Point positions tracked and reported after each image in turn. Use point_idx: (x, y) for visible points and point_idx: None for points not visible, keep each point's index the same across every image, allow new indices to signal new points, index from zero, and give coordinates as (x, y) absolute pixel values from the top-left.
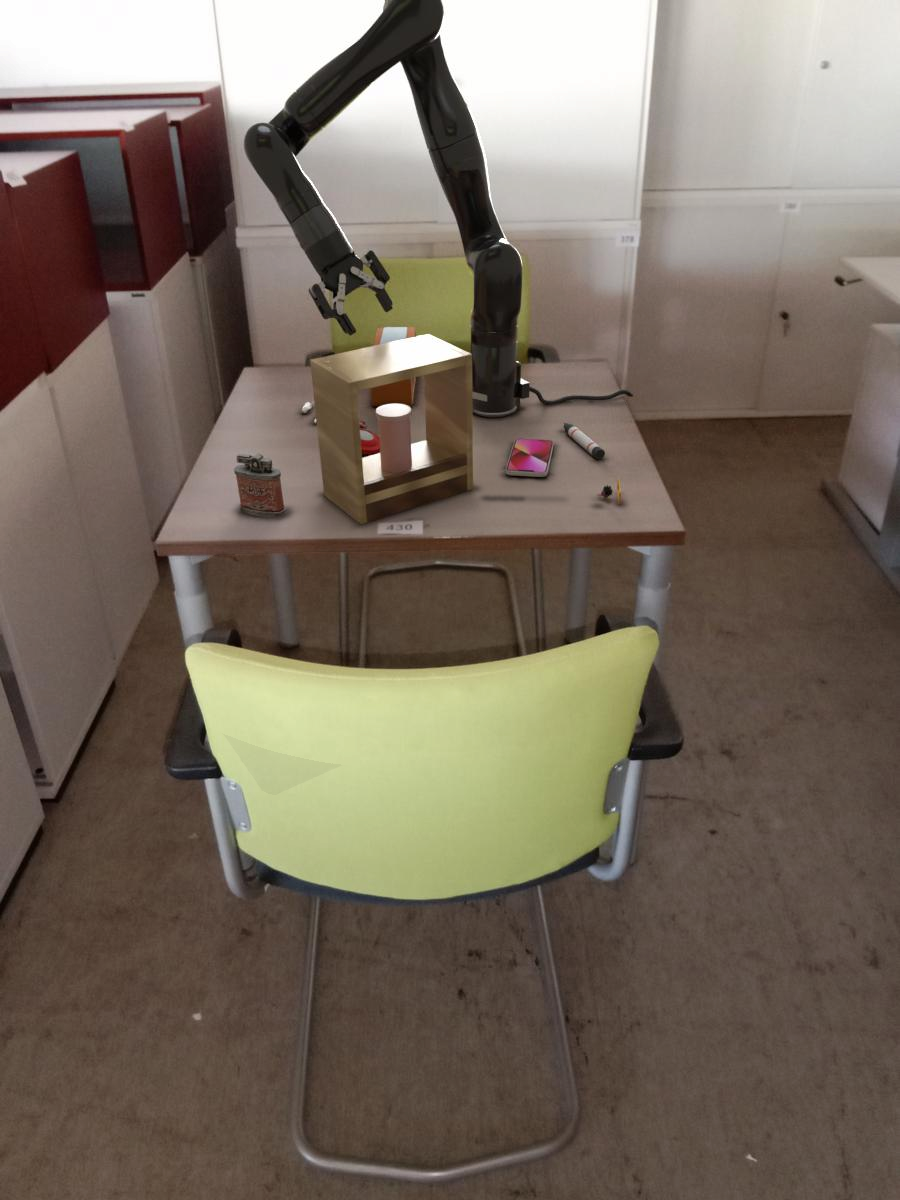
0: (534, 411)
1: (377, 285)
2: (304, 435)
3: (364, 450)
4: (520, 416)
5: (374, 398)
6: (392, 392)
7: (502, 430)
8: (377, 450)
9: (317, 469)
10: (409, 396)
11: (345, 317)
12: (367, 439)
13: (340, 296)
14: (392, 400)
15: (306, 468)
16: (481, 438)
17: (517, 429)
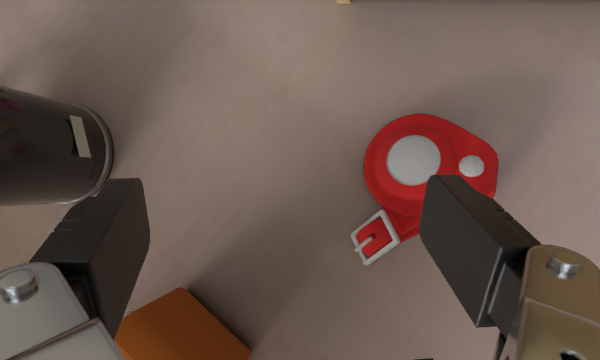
0: (20, 90)
1: (49, 299)
2: (476, 333)
3: (440, 118)
4: (55, 88)
5: (244, 350)
6: (203, 324)
7: (125, 52)
8: (403, 117)
9: (566, 139)
10: (178, 291)
11: (507, 227)
12: (416, 138)
13: (589, 335)
14: (213, 318)
15: (585, 162)
16: (181, 46)
17: (101, 37)
